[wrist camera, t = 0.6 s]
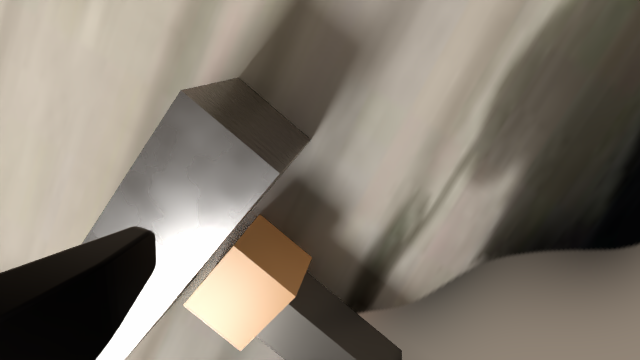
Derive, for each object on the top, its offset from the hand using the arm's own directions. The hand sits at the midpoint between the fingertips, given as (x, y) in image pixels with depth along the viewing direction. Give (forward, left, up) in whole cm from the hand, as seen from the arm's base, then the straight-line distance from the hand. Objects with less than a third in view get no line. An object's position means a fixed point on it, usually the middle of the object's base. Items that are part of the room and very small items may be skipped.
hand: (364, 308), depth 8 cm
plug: (-11, -3, -14) cm, 18 cm away
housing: (-11, +6, -14) cm, 18 cm away
